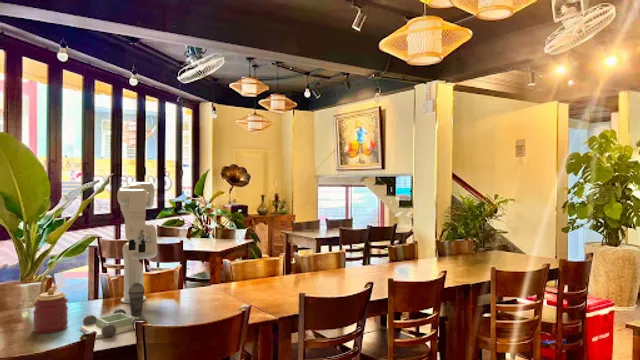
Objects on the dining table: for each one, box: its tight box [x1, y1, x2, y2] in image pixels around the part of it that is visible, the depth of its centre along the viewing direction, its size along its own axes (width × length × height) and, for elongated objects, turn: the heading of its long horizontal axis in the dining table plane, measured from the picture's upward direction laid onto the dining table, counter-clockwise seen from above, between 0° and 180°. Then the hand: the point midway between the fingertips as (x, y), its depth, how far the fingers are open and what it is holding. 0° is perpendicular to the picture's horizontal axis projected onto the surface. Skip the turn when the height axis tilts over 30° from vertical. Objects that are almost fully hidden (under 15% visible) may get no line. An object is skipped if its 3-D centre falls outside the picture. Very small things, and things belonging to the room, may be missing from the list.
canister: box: [32, 287, 69, 334], centre depth 193 cm, size 13×13×18 cm
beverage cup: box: [128, 274, 145, 317], centre depth 213 cm, size 7×7×20 cm
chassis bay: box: [80, 308, 146, 339], centre depth 195 cm, size 21×22×5 cm
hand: (136, 251), depth 213 cm, fingers open, 9 cm apart
